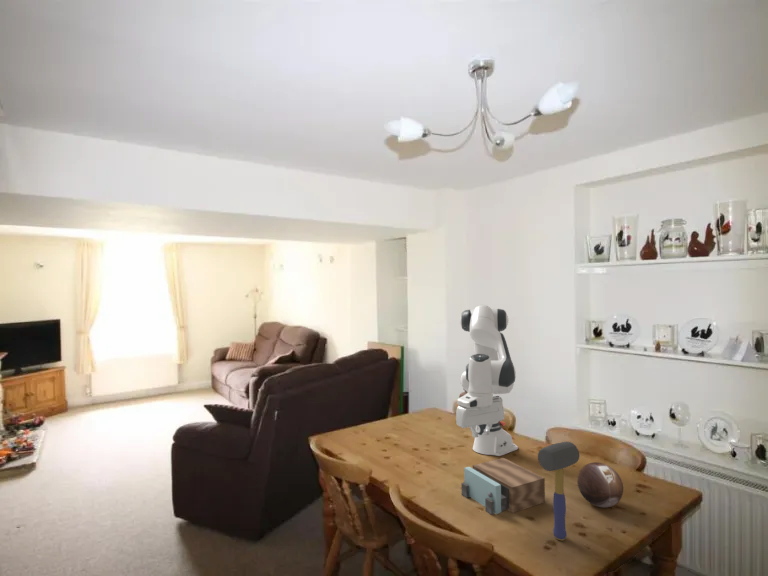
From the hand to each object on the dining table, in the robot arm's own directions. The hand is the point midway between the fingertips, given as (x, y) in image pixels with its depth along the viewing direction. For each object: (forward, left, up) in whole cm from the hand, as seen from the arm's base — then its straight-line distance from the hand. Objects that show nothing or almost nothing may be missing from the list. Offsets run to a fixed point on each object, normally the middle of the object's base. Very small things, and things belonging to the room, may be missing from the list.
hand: (481, 435), depth 162 cm
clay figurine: (-56, -80, -25) cm, 101 cm away
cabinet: (-9, 0, -25) cm, 26 cm away
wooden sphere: (-36, +22, -25) cm, 49 cm away
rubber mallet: (-6, +30, -25) cm, 40 cm away
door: (0, 0, -25) cm, 25 cm away
